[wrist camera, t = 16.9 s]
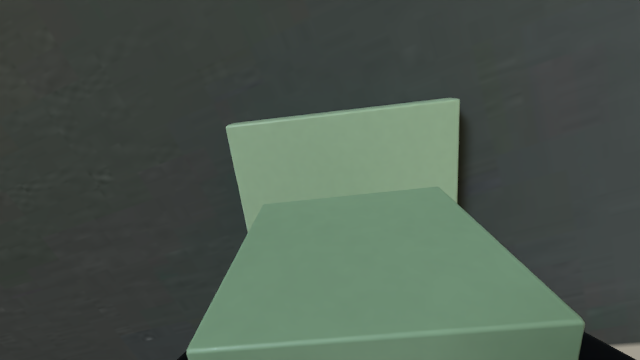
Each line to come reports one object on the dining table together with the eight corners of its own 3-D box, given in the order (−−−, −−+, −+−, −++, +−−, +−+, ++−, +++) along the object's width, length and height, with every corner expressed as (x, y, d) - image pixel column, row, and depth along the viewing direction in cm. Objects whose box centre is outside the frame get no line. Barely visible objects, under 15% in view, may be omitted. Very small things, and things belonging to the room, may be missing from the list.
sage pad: (448, 285, 13) (455, 298, 12) (268, 300, 14) (264, 314, 13) (451, 97, 11) (460, 98, 10) (231, 123, 11) (224, 126, 10)
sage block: (438, 328, 9) (543, 558, 5) (288, 340, 9) (254, 567, 5) (438, 185, 7) (587, 321, 3) (262, 203, 8) (183, 352, 3)
